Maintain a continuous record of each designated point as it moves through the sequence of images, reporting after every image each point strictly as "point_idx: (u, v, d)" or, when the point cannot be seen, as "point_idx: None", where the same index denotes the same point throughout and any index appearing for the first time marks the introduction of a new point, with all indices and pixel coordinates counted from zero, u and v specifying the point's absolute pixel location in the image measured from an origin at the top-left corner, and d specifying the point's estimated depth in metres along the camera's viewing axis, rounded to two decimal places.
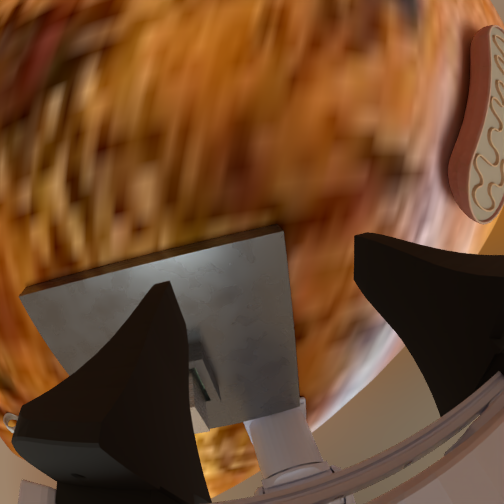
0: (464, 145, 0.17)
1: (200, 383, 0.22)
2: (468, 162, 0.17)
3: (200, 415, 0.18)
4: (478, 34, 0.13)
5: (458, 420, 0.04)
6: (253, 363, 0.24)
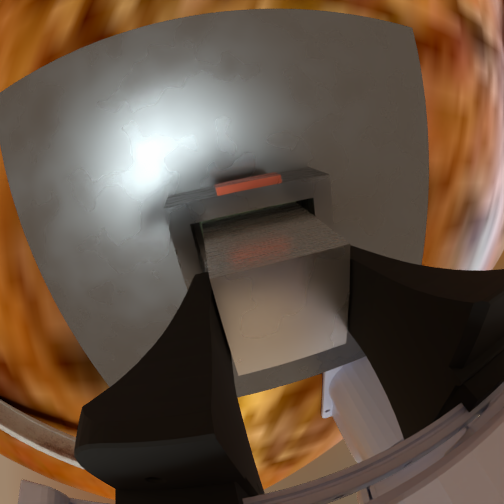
0: None
1: None
2: None
3: (347, 284, 0.08)
4: None
5: (458, 420, 0.04)
6: (377, 233, 0.14)
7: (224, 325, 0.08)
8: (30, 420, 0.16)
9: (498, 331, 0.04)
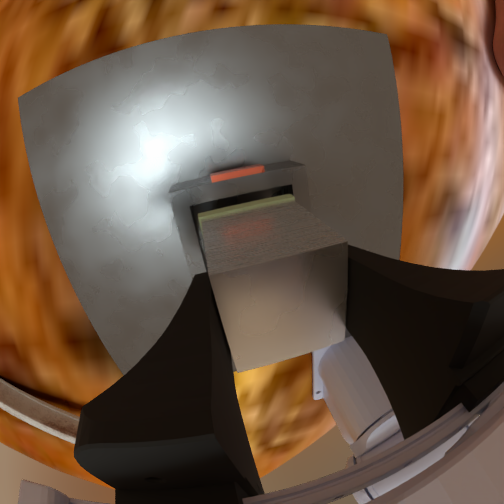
0: (503, 25, 0.10)
1: None
2: None
3: (345, 282, 0.09)
4: None
5: (458, 420, 0.04)
6: (355, 219, 0.17)
7: (223, 322, 0.08)
8: (35, 401, 0.18)
9: (498, 331, 0.04)
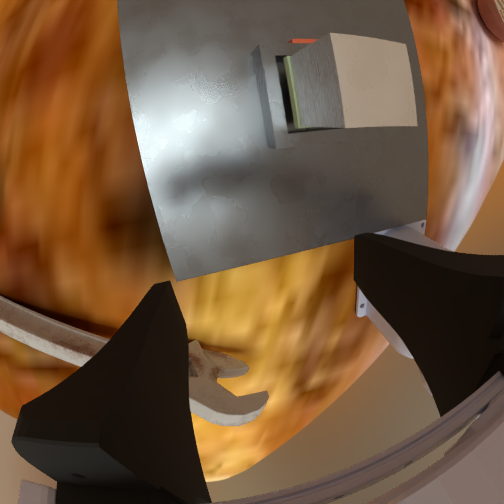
0: None
1: None
2: None
3: (409, 73, 0.09)
4: None
5: (458, 420, 0.04)
6: None
7: (338, 69, 0.09)
8: (46, 320, 0.19)
9: None
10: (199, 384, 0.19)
